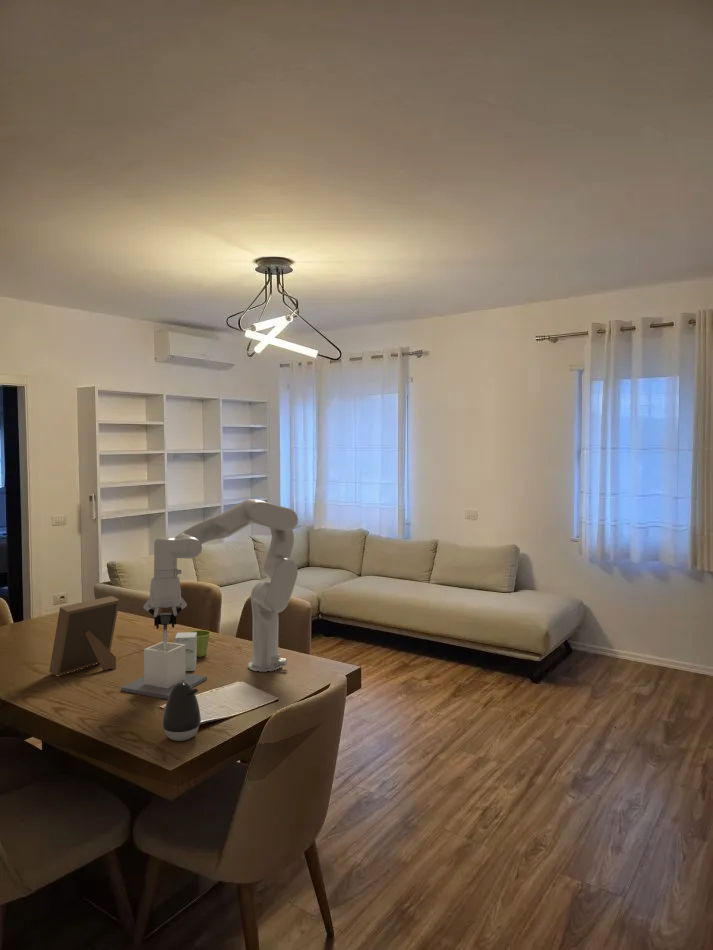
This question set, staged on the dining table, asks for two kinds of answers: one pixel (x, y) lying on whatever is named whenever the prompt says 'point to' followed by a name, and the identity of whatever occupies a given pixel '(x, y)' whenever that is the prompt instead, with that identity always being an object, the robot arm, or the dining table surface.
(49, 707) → the dining table surface
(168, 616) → the plunger
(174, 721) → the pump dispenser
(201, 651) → the plant pot
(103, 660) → the photo frame
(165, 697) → the grey square base
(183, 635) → the supplement box
